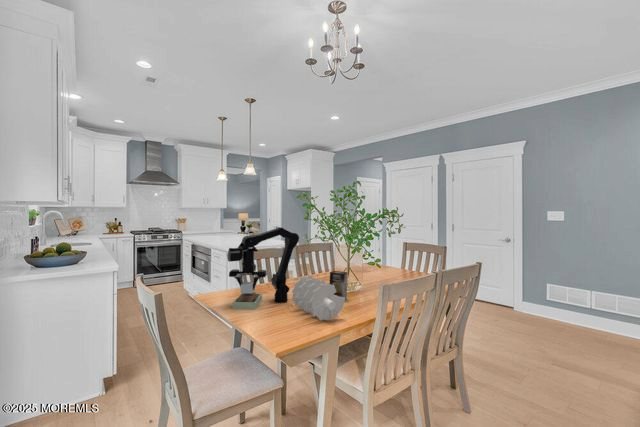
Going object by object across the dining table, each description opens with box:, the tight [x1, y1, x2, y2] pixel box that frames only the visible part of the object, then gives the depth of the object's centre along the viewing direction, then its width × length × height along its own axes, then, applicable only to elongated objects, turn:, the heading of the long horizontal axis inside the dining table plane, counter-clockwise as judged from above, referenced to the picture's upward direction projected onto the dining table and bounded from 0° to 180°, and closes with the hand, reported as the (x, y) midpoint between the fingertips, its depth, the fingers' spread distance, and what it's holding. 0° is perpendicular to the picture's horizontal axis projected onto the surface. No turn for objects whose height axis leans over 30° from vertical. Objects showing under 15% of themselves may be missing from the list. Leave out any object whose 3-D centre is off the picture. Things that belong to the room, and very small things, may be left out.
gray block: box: [240, 281, 256, 294], centre depth 159 cm, size 6×6×4 cm
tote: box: [232, 292, 263, 311], centre depth 162 cm, size 12×17×4 cm
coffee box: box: [329, 270, 348, 301], centre depth 174 cm, size 9×6×16 cm
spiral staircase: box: [291, 274, 346, 321], centre depth 149 cm, size 18×18×25 cm
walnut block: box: [238, 292, 257, 302], centre depth 159 cm, size 7×7×6 cm
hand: (248, 289), depth 159 cm, fingers closed on gray block, 6 cm apart
